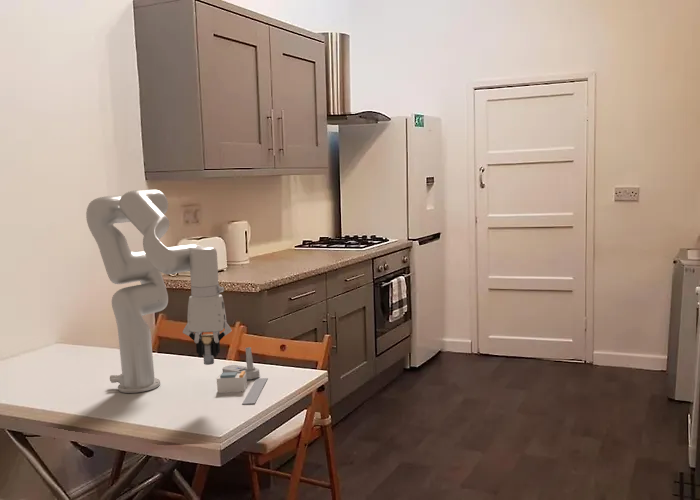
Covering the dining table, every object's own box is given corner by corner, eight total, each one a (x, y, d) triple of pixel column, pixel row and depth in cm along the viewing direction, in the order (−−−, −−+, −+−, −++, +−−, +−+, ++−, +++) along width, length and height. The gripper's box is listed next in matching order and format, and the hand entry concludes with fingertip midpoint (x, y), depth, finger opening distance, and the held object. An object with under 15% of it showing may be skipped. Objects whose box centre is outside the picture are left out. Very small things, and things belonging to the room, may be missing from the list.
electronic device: (229, 343, 229) (260, 346, 219) (232, 372, 230) (263, 377, 220) (216, 346, 225) (247, 350, 215) (219, 376, 226) (250, 381, 216)
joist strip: (242, 404, 193) (242, 403, 193) (256, 379, 217) (256, 378, 217) (254, 404, 193) (254, 403, 193) (267, 378, 217) (267, 378, 217)
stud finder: (217, 393, 206) (216, 376, 205) (220, 388, 210) (219, 372, 210) (244, 392, 206) (243, 375, 205) (247, 387, 210) (245, 370, 210)
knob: (201, 365, 193) (199, 337, 192) (204, 361, 197) (202, 334, 196) (213, 365, 193) (212, 337, 192) (216, 361, 197) (215, 333, 196)
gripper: (237, 288, 196) (240, 351, 198) (179, 289, 196) (182, 352, 199) (232, 293, 188) (235, 359, 191) (171, 294, 189) (175, 360, 191)
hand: (208, 355), depth 195 cm, fingers closed on knob, 3 cm apart
